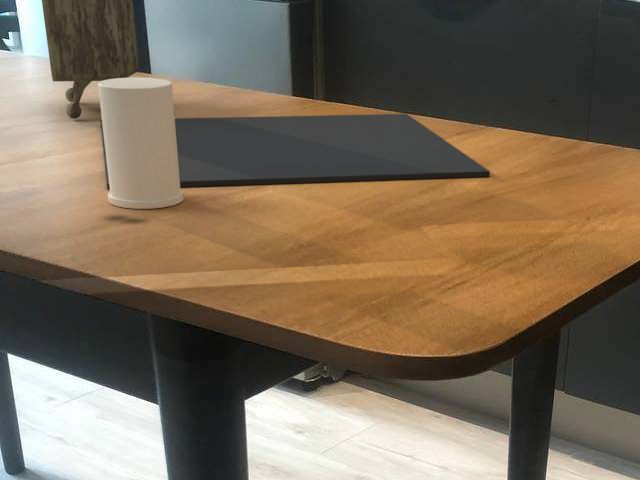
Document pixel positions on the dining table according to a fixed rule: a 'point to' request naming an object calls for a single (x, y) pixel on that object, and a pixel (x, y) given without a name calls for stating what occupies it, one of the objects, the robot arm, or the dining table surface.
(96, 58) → the tabletop clock
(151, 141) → the cap
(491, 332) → the dining table surface
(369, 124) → the mat
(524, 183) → the dining table surface
